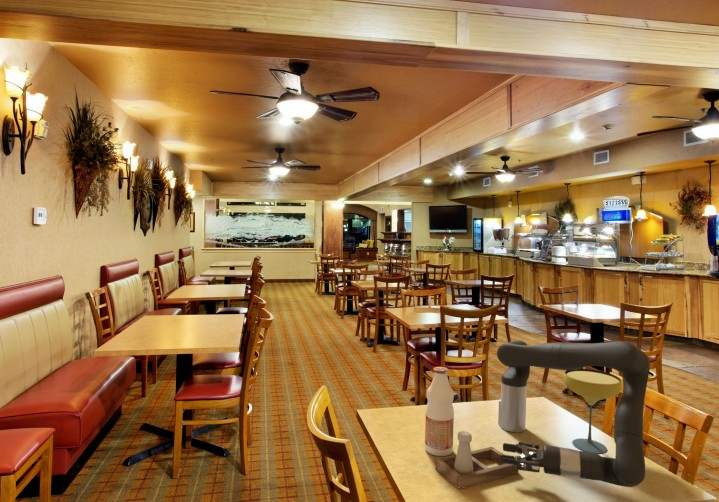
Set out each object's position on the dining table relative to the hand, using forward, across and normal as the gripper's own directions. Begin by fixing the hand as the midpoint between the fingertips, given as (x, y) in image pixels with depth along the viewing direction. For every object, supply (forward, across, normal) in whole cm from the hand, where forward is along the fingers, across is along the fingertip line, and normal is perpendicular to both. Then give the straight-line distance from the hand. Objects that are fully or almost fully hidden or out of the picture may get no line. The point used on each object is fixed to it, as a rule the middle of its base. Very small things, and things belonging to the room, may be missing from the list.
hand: (501, 452), depth 133 cm
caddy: (+8, -3, +8) cm, 12 cm away
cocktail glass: (-27, -37, +8) cm, 46 cm away
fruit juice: (+21, -12, +8) cm, 26 cm away
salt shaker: (+11, +1, +8) cm, 14 cm away
